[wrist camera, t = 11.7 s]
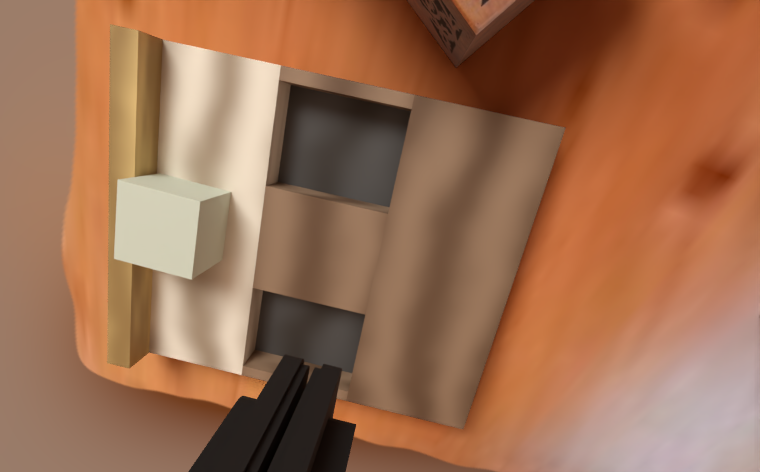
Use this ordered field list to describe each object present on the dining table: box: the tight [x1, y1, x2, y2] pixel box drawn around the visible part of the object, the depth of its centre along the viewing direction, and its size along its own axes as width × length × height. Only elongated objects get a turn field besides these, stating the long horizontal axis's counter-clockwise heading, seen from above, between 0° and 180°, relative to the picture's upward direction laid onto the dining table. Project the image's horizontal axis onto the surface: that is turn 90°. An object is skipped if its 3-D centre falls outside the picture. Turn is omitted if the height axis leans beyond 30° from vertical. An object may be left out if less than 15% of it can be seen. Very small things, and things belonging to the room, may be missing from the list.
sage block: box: [114, 173, 231, 280], centre depth 29 cm, size 6×6×4 cm
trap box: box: [107, 24, 565, 429], centre depth 31 cm, size 32×27×6 cm
